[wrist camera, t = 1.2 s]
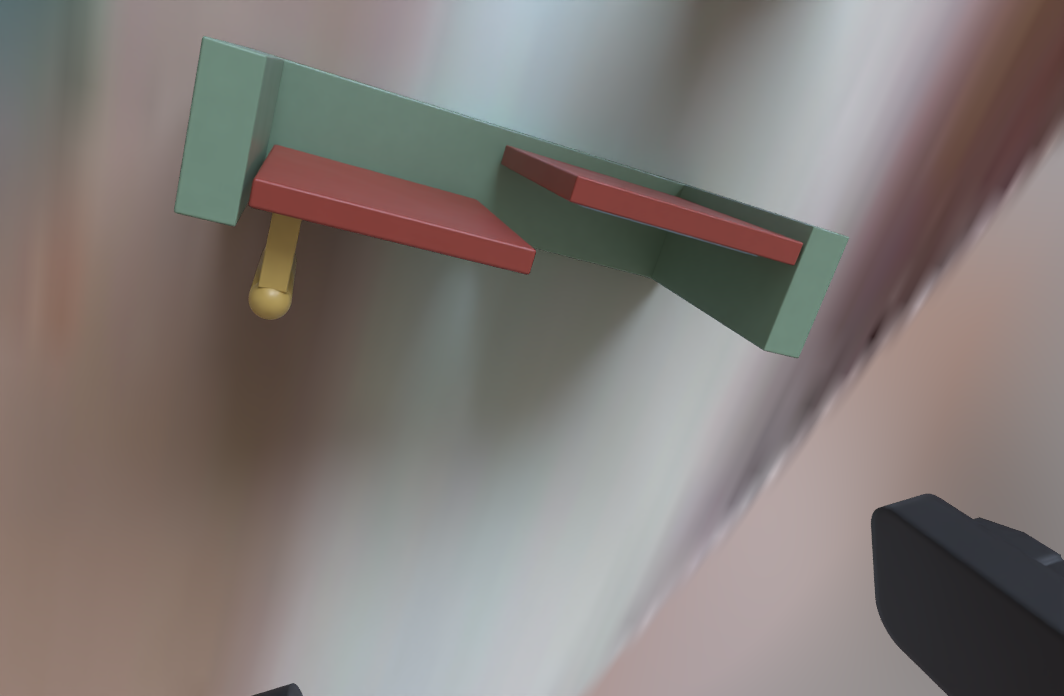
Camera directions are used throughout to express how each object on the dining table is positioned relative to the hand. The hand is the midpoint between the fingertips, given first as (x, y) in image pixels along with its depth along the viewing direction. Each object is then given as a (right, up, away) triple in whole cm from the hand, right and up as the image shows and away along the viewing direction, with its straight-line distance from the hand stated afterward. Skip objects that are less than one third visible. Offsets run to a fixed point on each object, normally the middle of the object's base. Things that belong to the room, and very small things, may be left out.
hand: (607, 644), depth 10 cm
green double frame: (-3, +11, +22) cm, 25 cm away
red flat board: (-8, +9, +19) cm, 23 cm away
